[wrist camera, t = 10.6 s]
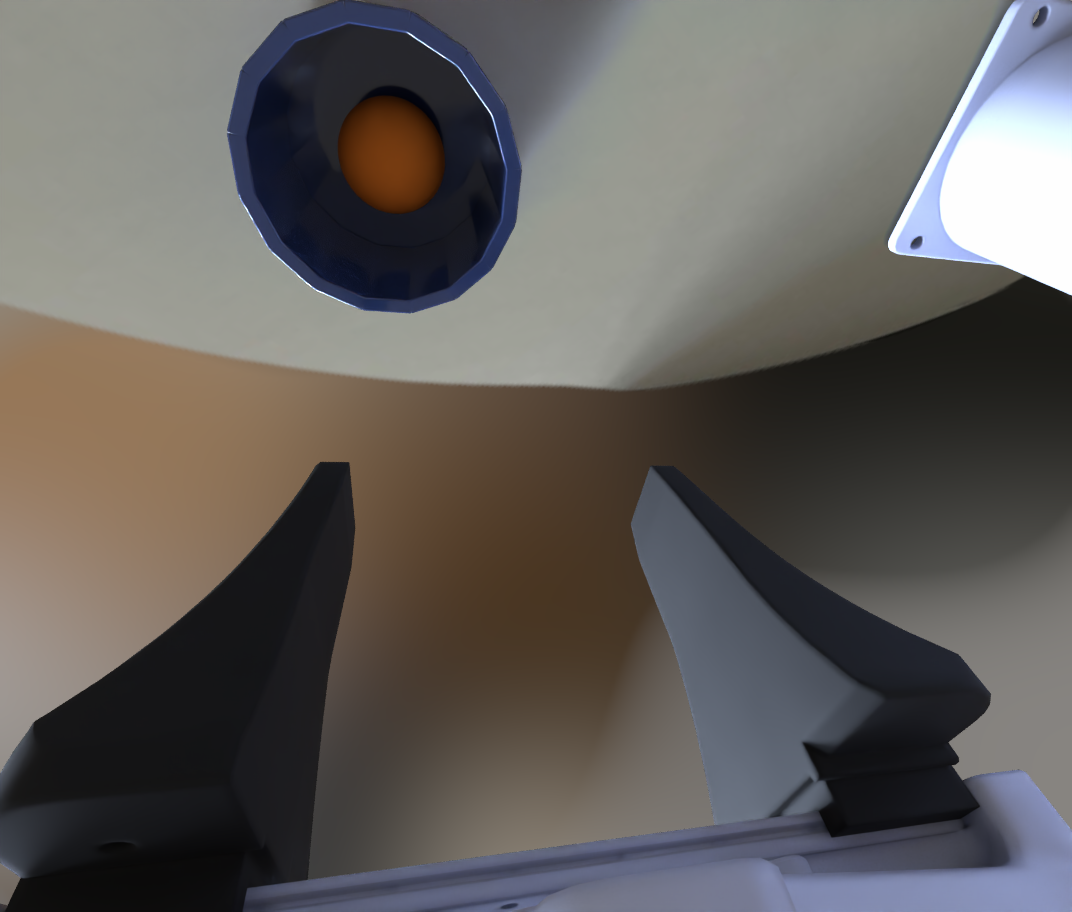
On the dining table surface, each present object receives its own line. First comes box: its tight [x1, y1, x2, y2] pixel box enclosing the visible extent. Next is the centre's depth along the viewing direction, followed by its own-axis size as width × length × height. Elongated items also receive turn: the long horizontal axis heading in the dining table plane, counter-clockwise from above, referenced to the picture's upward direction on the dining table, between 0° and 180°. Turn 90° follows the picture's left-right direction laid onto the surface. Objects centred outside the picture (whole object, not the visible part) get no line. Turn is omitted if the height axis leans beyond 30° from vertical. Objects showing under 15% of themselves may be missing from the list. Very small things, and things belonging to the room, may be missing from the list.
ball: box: [338, 95, 445, 214], centre depth 16 cm, size 3×3×3 cm
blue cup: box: [227, 0, 522, 313], centre depth 15 cm, size 7×7×5 cm
